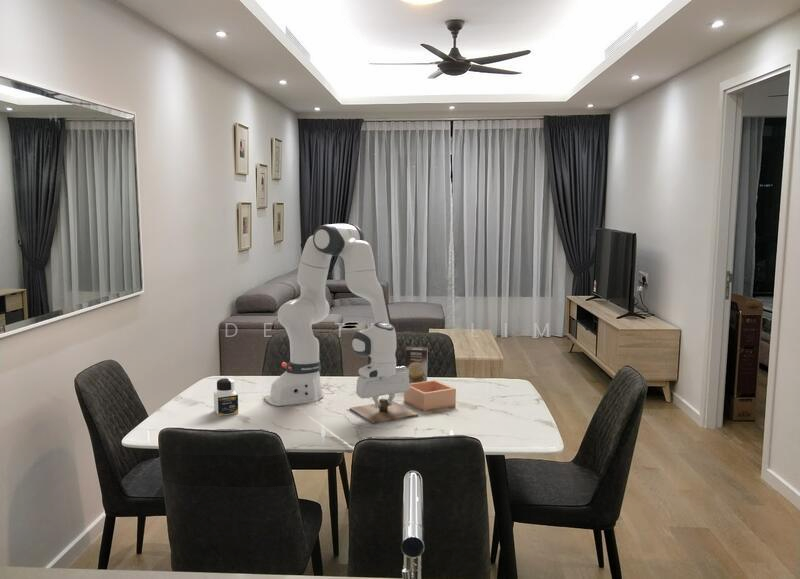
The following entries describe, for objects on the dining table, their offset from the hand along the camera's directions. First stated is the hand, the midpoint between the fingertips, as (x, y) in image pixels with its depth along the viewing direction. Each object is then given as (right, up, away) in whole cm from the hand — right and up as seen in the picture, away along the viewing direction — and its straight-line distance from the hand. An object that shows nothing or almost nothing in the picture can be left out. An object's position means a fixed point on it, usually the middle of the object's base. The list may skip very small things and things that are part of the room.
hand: (383, 406), depth 232 cm
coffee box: (+13, +1, +38) cm, 40 cm away
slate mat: (0, -3, 0) cm, 3 cm away
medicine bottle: (-57, -3, +2) cm, 57 cm away
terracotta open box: (+17, -2, +13) cm, 21 cm away
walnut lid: (0, -2, 0) cm, 2 cm away
